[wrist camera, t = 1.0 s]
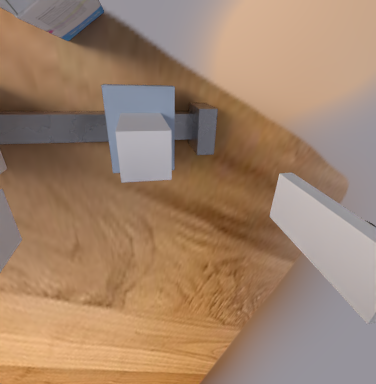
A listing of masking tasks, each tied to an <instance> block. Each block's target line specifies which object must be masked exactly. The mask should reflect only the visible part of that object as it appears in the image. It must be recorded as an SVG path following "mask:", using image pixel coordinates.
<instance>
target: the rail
mask: <svg viewBox="0 0 376 384" xmlns="http://www.w3.org/2000/svg"><path fill="white" fill-rule="evenodd" d="M217 111H218V109H217V108H215V107H212V106H210V105H208V104H206V103H189V111H175V140H187V139H188V144H189V145H190V146H191V148H192V149H193V150H194V152H195V153H196V154H197V155H209V154H214V146H215V134H216V123H217ZM70 142H109V139H108V131H107V124H106V116H105V111H54V112H0V144H31V143H70Z"/></svg>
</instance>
